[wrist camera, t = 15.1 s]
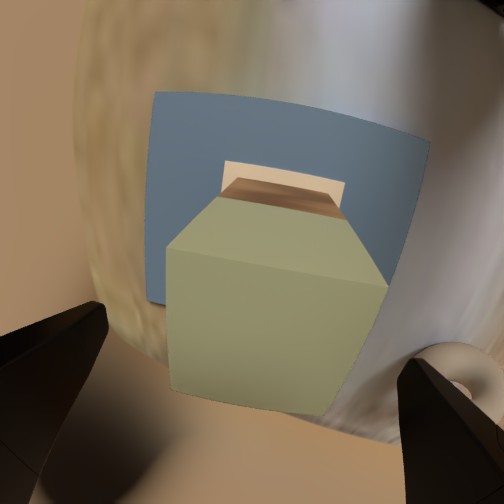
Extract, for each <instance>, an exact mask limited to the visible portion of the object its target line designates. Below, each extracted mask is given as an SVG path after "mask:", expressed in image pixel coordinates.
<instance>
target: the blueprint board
mask: <svg viewBox="0 0 504 504" xmlns="http://www.w3.org/2000/svg"><path fill="white" fill-rule="evenodd" d="M429 146H430V142H428V141H425V140H423V139H420V138H418V137H415V136H412V135H409V134H407V133H404V132H401V131H398V130H395V129H392V128H389V127H386V126H383V125H379V124H376V123H373V122H369V121H366V120H363V119H359V118H355V117H352V116H348V115H344V114H340V113H336V112H332V111H327V110H323V109H318V108H314V107H309V106H304V105H298V104H293V103H287V102H281V101H275V100H269V99H261V98H254V97H246V96H236V95H226V94H213V93H196V92H155V96H154V103H153V110H152V119H151V127H150V137H149V148H148V160H147V175H146V196H145V276H146V297H147V301H151V302H155V303H159V304H163V305H166V247H167V246H168V245H169V244H170V243H171V242H172V241H173V240H174V239H175V238H176V237H177V236H178V235H179V233H180V232H181V231H182V230H183V229H184V228H185V227H186V226H187V225H188V224H189V223H190V222H191V221H192V220H193V219H194V218H195V217H196V216H197V215H198V214H199V213H200V212H201V211H203V210H204V209H205V208H206V207H207V206H208V205H209V204H210V203H211V202H212V201H213V200H214V199H215V198H216V197H217V196H218V195H219V194H220V193H221V192H222V191H224V190H225V189H226V188H227V187H228V186H229V185H230V184H231V183H232V182H233V181H234V180H235V179H236V178H237V177H240V178H246V179H253V180H259V181H265V182H271V183H277V184H282V185H288V186H293V187H298V188H304V189H309V190H314V191H319V192H323V193H328V194H329V195H330V197H331V198H332V199H333V201H334V202H335V204H336V205H337V207H338V208H339V209H340V211H341V212H342V214H343V215H344V217H345V218H346V220H347V221H348V223H349V224H350V226H351V227H352V229H353V230H354V232H355V233H356V235H357V236H358V238H359V239H360V241H361V242H362V244H363V246H364V247H365V249H366V250H367V252H368V253H369V255H370V257H371V258H372V260H373V261H374V263H375V265H376V266H377V268H378V270H379V271H380V273H381V275H382V276H383V278H384V280H385V281H386V283H387V285H388V287H389V284H390V282H391V279H392V276H393V274H394V271H395V268H396V266H397V263H398V260H399V257H400V254H401V252H402V249H403V246H404V243H405V240H406V236H407V233H408V230H409V227H410V224H411V220H412V217H413V213H414V210H415V206H416V203H417V199H418V195H419V191H420V187H421V183H422V179H423V175H424V170H425V166H426V161H427V156H428V151H429Z"/></svg>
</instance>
